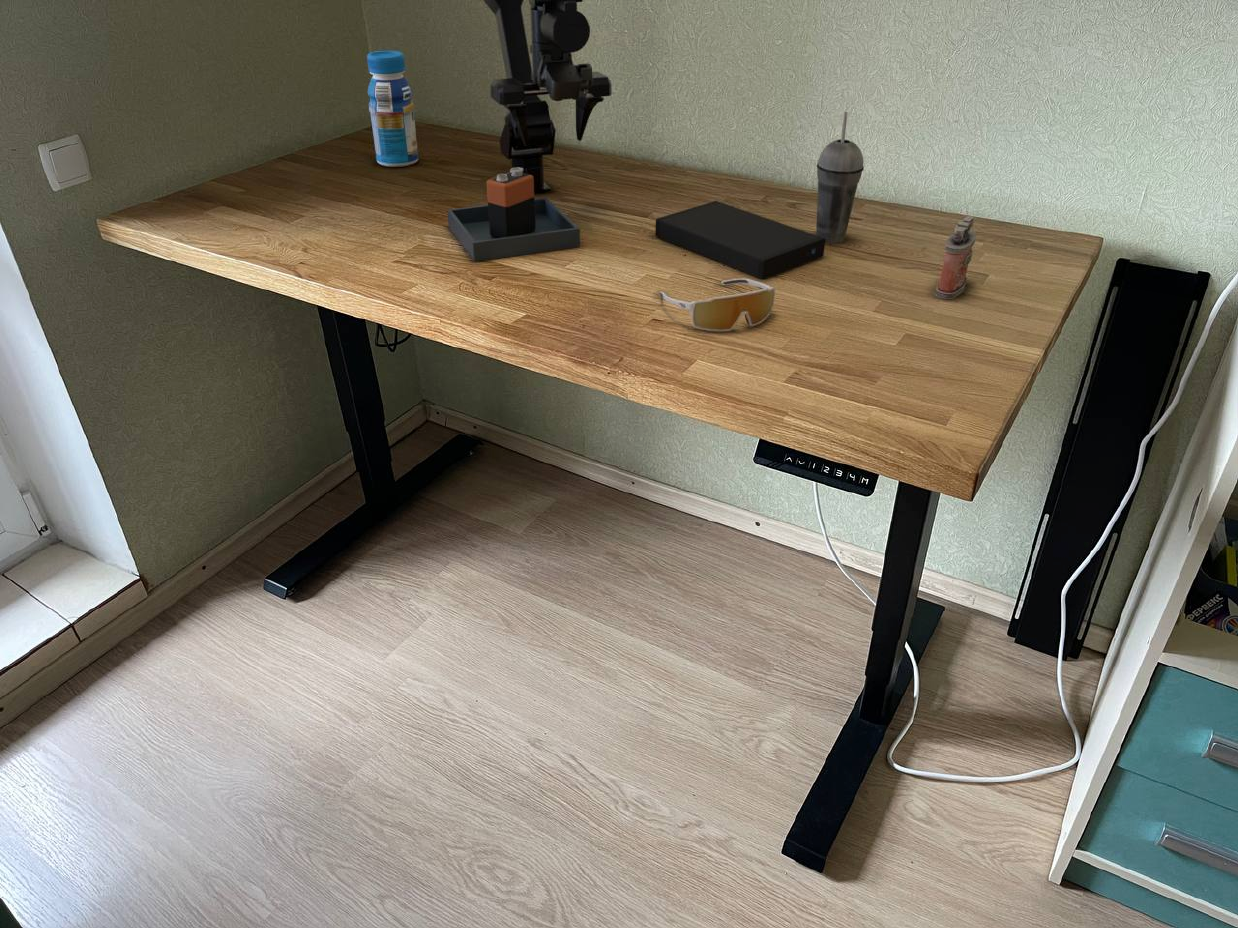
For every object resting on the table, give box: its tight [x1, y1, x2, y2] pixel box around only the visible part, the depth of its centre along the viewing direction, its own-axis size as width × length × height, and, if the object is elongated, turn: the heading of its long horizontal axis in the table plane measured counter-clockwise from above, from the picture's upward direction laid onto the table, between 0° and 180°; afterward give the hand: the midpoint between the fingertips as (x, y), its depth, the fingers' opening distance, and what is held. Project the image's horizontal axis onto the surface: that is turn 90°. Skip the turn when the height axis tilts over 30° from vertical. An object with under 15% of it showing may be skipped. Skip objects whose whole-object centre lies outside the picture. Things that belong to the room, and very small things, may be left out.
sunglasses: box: [659, 278, 776, 332], centre depth 131 cm, size 14×15×5 cm
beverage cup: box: [815, 111, 865, 244], centre depth 150 cm, size 7×7×20 cm
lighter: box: [935, 215, 977, 300], centre depth 136 cm, size 8×3×10 cm, turn 148°
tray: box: [446, 197, 581, 262], centre depth 154 cm, size 16×17×3 cm
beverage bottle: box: [366, 50, 419, 168], centre depth 183 cm, size 8×8×20 cm
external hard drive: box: [654, 200, 826, 280], centre depth 151 cm, size 14×23×3 cm, turn 41°
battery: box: [486, 167, 536, 238], centre depth 151 cm, size 4×7×10 cm, turn 143°
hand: (553, 143), depth 157 cm, fingers open, 9 cm apart
